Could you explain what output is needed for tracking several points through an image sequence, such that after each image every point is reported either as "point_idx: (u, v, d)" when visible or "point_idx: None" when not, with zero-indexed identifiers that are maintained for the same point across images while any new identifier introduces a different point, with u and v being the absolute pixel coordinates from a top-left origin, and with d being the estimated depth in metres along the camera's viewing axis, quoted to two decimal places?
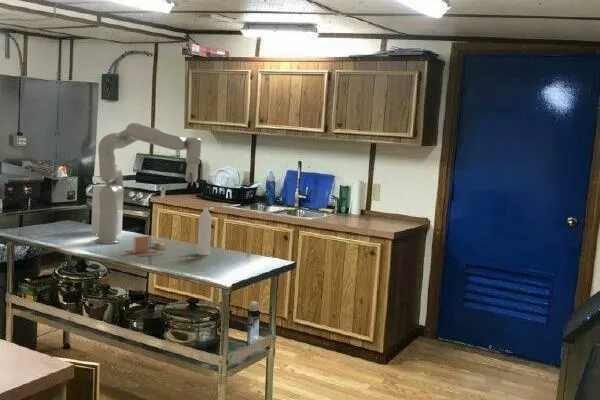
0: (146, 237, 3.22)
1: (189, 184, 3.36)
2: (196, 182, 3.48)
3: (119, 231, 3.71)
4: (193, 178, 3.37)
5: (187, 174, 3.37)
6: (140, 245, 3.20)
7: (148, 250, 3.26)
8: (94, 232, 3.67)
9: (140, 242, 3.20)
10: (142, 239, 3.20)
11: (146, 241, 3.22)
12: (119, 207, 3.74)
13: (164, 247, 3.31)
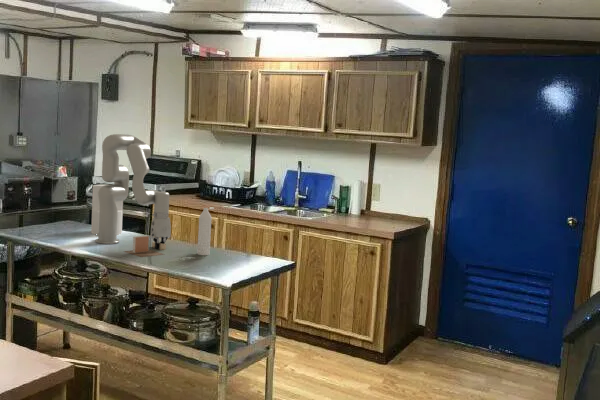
0: (146, 237, 3.22)
1: None
2: (154, 241, 3.32)
3: (119, 231, 3.71)
4: None
5: None
6: (140, 245, 3.20)
7: (148, 250, 3.26)
8: (94, 232, 3.67)
9: (140, 242, 3.20)
10: (142, 239, 3.20)
11: (146, 241, 3.22)
12: (119, 207, 3.74)
13: (164, 247, 3.31)
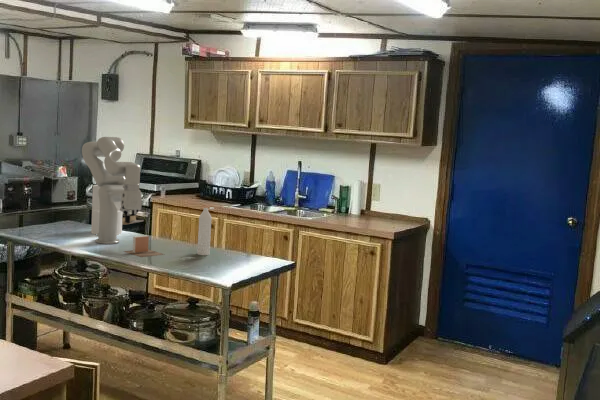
0: (146, 237, 3.22)
1: None
2: None
3: (119, 231, 3.71)
4: None
5: None
6: (140, 245, 3.20)
7: (148, 250, 3.26)
8: (94, 232, 3.67)
9: (140, 242, 3.20)
10: (142, 239, 3.20)
11: (146, 241, 3.22)
12: (119, 207, 3.74)
13: (134, 218, 3.27)
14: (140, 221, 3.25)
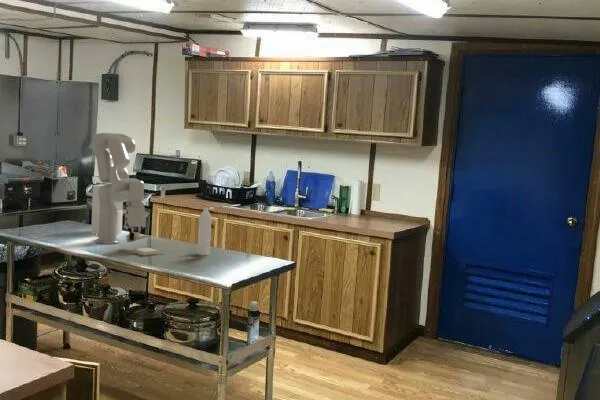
0: None
1: None
2: None
3: (119, 231, 3.71)
4: None
5: None
6: None
7: None
8: (94, 232, 3.67)
9: None
10: None
11: None
12: (119, 207, 3.74)
13: (138, 235, 3.23)
14: (144, 237, 3.21)
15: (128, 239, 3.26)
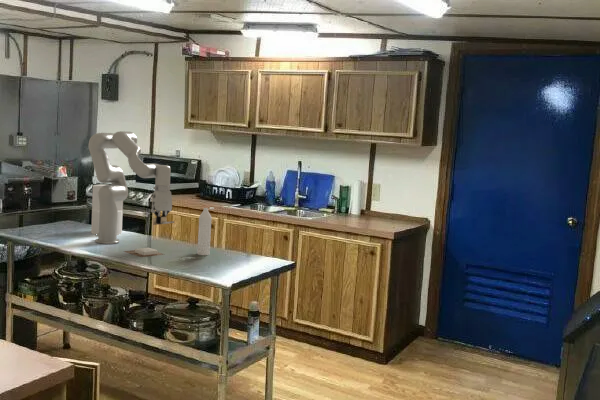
0: None
1: None
2: (155, 215, 3.30)
3: (119, 231, 3.71)
4: None
5: None
6: None
7: None
8: (94, 232, 3.67)
9: None
10: None
11: None
12: (119, 207, 3.74)
13: (165, 219, 3.30)
14: None
15: (154, 222, 3.33)
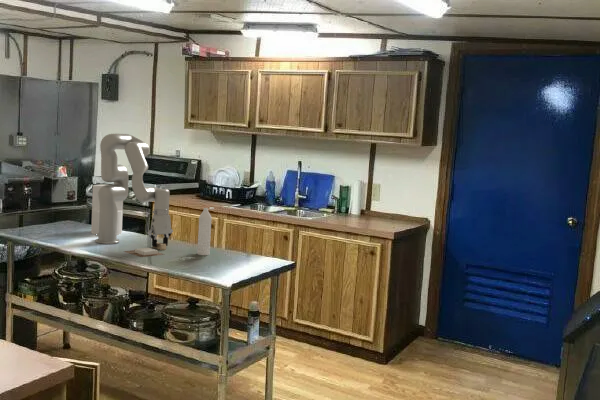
0: None
1: None
2: (151, 237, 3.30)
3: (119, 231, 3.71)
4: None
5: None
6: None
7: None
8: (94, 232, 3.67)
9: None
10: None
11: None
12: (119, 207, 3.74)
13: (164, 247, 3.31)
14: None
15: (154, 247, 3.34)
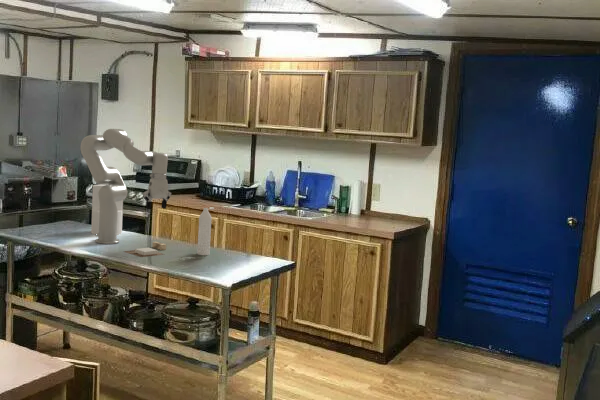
0: None
1: None
2: (145, 199, 3.30)
3: (119, 231, 3.71)
4: None
5: None
6: None
7: None
8: (94, 232, 3.67)
9: None
10: None
11: None
12: (119, 207, 3.74)
13: (164, 247, 3.31)
14: None
15: (154, 247, 3.34)
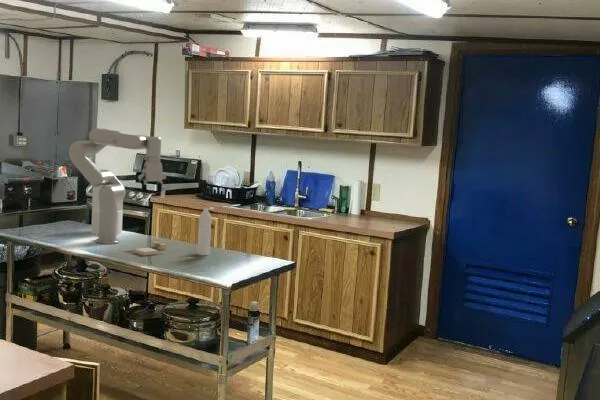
0: None
1: None
2: (141, 182, 3.35)
3: (119, 231, 3.71)
4: None
5: None
6: None
7: None
8: (94, 232, 3.67)
9: None
10: None
11: None
12: (119, 207, 3.74)
13: (164, 247, 3.31)
14: None
15: (154, 247, 3.34)
